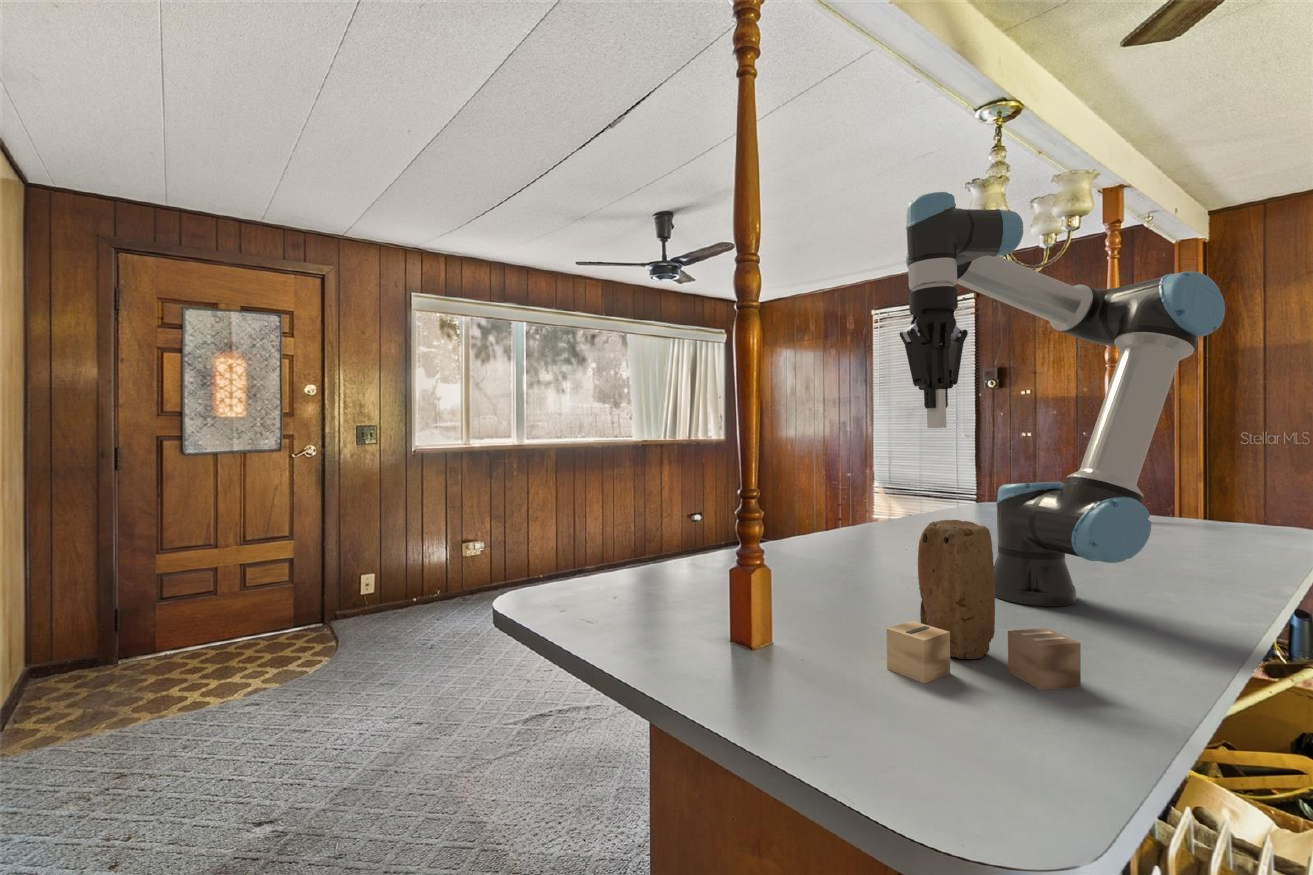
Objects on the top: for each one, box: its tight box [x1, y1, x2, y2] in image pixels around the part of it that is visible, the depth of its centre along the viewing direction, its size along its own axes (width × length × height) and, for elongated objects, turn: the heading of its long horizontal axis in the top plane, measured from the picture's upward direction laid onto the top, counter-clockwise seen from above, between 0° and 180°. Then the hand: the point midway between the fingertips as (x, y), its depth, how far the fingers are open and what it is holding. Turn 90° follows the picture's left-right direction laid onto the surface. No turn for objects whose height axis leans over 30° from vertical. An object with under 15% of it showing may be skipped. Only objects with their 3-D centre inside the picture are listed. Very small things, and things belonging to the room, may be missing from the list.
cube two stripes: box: [1007, 627, 1082, 691], centre depth 84 cm, size 6×6×6 cm
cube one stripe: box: [886, 620, 951, 684], centre depth 88 cm, size 6×6×6 cm
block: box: [917, 519, 996, 660], centre depth 96 cm, size 11×8×20 cm
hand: (936, 427), depth 104 cm, fingers closed
